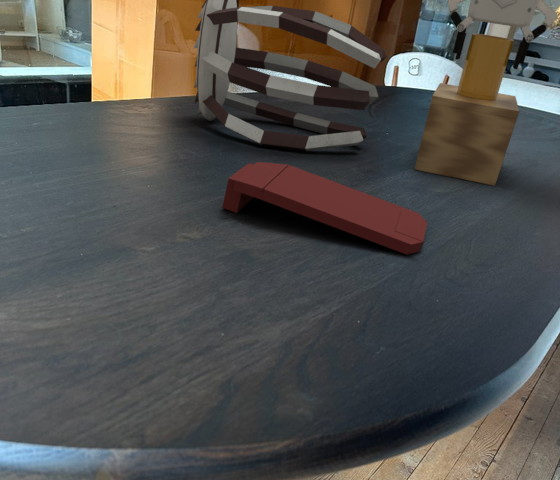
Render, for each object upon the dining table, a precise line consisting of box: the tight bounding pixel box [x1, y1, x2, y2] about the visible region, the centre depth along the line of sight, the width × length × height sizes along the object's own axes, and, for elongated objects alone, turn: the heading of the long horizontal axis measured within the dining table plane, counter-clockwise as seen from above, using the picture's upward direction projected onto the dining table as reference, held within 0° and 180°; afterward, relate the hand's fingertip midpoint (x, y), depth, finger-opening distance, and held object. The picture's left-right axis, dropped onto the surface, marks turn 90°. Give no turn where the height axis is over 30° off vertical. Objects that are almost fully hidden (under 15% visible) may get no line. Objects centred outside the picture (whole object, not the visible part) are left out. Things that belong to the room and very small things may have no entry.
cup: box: [457, 33, 515, 100], centre depth 100 cm, size 7×7×9 cm
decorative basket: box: [193, 0, 388, 152], centre depth 105 cm, size 24×27×35 cm
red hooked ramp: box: [221, 161, 428, 255], centre depth 76 cm, size 12×5×25 cm
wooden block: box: [414, 82, 520, 187], centre depth 106 cm, size 14×18×12 cm
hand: (485, 63), depth 99 cm, fingers open, 9 cm apart
